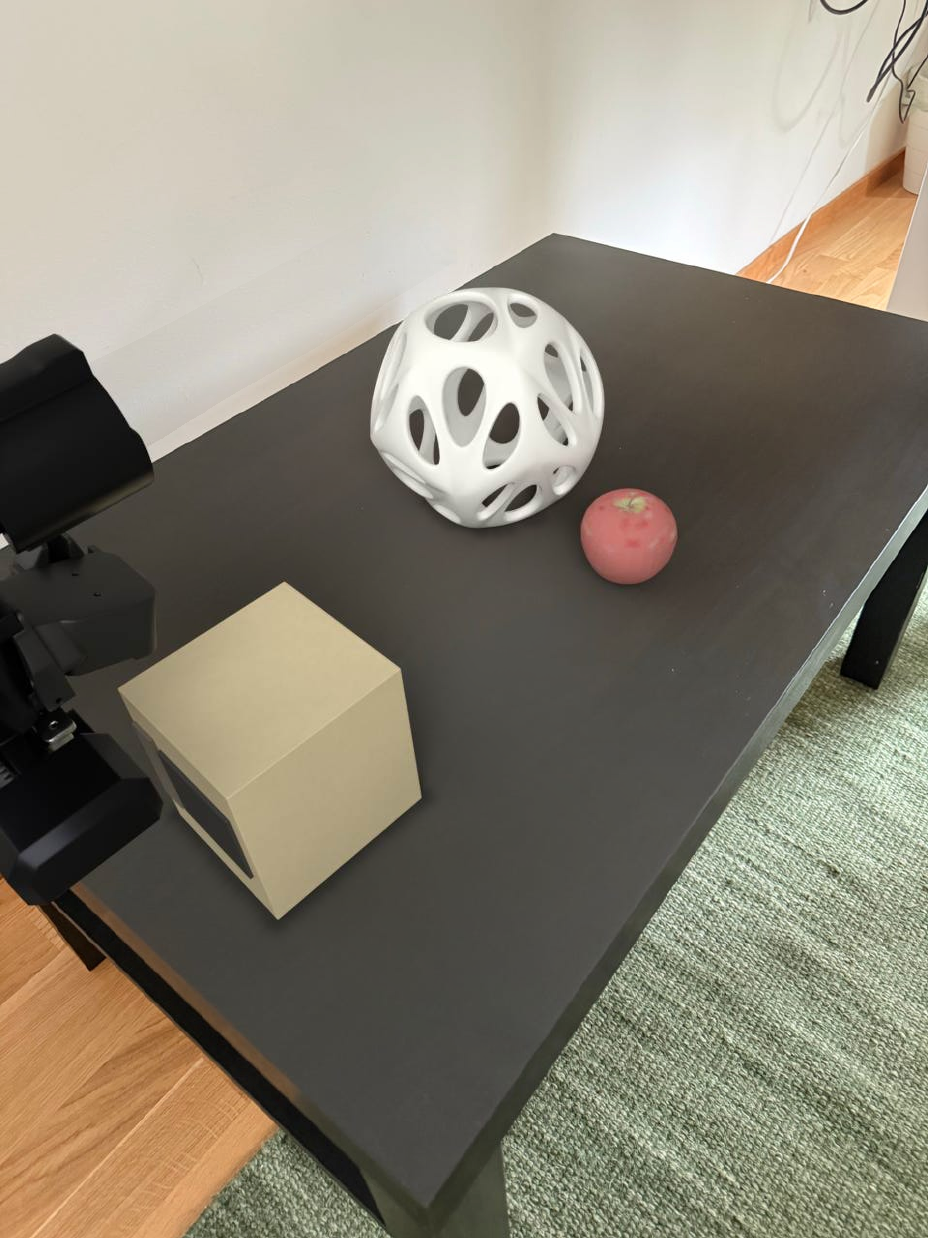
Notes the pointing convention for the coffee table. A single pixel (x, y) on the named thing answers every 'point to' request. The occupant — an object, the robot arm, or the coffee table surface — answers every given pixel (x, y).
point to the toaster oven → (279, 742)
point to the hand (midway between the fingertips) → (67, 820)
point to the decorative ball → (488, 407)
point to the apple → (628, 535)
